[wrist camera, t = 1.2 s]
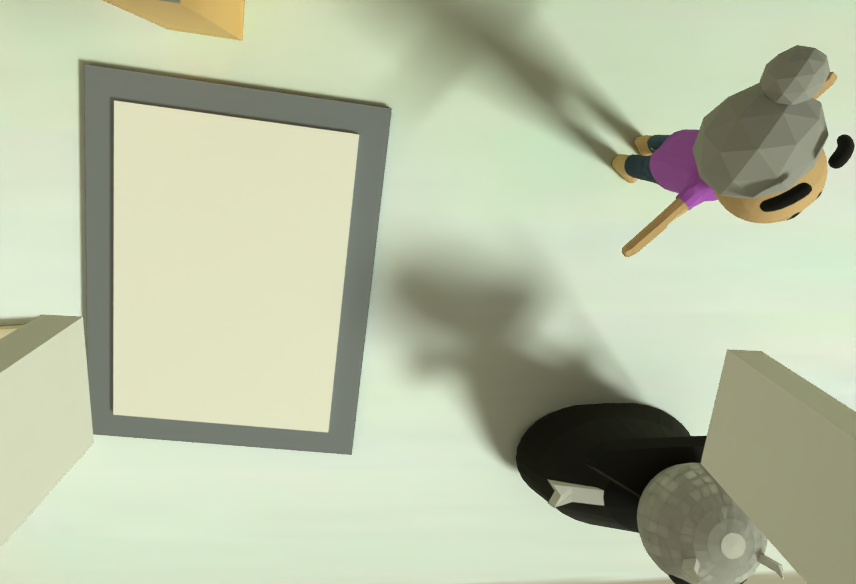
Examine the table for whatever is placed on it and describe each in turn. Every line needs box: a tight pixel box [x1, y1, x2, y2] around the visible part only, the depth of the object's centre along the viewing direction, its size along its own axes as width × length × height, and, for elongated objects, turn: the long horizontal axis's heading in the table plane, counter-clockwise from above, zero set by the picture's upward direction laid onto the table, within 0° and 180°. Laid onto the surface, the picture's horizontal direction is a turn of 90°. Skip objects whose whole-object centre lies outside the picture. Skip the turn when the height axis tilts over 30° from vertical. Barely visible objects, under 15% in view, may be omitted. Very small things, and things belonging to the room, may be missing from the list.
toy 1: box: [612, 45, 854, 257], centre depth 26 cm, size 10×6×15 cm, turn 132°
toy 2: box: [516, 403, 784, 584], centre depth 31 cm, size 12×7×15 cm, turn 90°
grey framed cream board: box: [84, 64, 392, 455], centre depth 33 cm, size 20×15×1 cm
